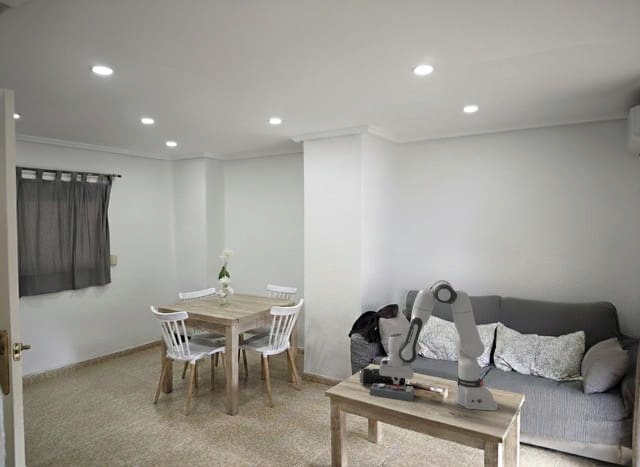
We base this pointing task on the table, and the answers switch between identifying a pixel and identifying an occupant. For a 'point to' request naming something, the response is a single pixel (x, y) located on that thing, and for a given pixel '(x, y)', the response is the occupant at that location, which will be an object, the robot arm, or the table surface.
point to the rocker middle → (395, 387)
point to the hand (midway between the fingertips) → (396, 384)
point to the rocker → (409, 389)
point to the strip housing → (392, 392)
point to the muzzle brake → (377, 377)
